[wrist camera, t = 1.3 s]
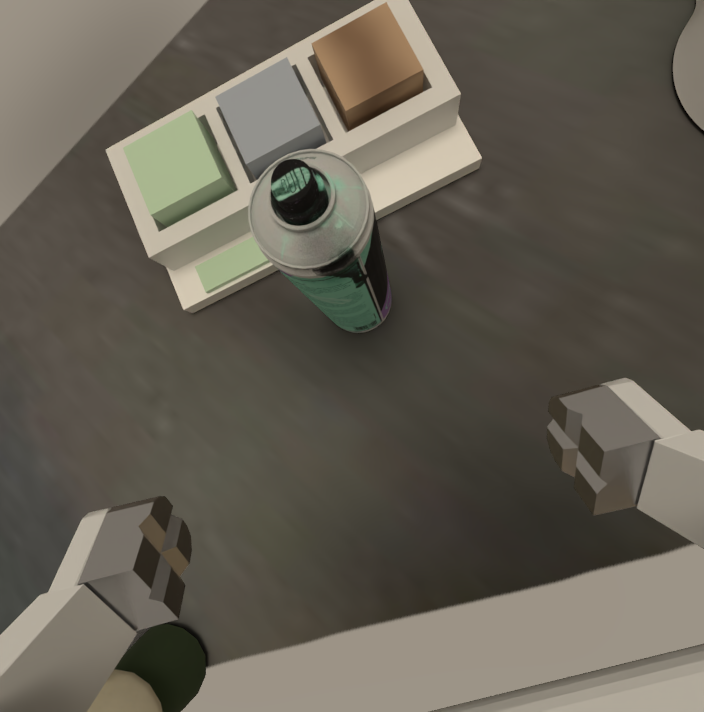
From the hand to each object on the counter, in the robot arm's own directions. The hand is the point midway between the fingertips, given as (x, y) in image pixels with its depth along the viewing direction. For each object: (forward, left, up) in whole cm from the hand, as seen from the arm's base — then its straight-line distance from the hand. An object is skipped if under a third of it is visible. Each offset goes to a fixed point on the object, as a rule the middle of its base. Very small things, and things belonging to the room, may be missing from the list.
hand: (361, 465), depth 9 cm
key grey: (-1, -24, -23) cm, 33 cm away
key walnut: (-9, -24, -23) cm, 34 cm away
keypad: (-1, -22, -26) cm, 34 cm away
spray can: (-1, -10, -26) cm, 28 cm away
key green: (+7, -24, -23) cm, 34 cm away
